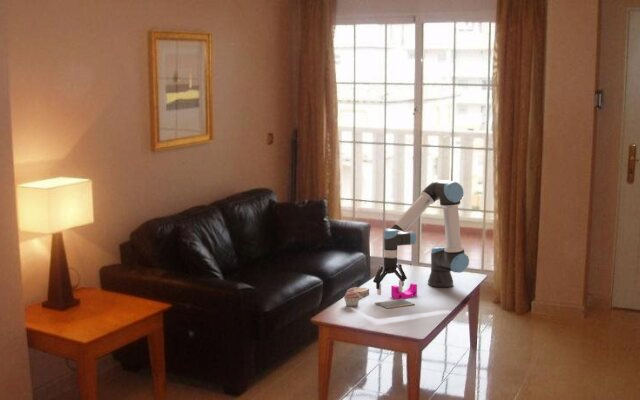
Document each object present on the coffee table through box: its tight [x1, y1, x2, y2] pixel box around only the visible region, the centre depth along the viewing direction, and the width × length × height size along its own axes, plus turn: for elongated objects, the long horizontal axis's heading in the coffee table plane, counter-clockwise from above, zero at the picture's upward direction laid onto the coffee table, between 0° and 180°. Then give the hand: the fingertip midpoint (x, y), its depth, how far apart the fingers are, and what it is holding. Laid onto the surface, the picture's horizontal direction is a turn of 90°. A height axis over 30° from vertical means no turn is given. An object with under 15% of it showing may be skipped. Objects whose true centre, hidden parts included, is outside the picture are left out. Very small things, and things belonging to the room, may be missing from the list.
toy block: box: [390, 282, 418, 300], centre depth 448 cm, size 15×6×8 cm, turn 117°
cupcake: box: [343, 287, 361, 308], centre depth 428 cm, size 9×9×10 cm
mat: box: [374, 298, 415, 310], centre depth 430 cm, size 18×12×1 cm, turn 117°
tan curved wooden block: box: [346, 286, 370, 299], centre depth 450 cm, size 4×10×9 cm
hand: (389, 293), depth 440 cm, fingers open, 14 cm apart
